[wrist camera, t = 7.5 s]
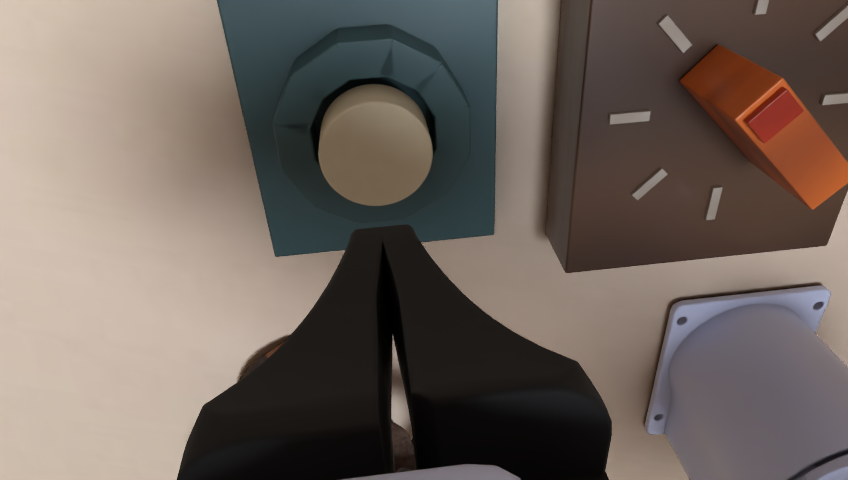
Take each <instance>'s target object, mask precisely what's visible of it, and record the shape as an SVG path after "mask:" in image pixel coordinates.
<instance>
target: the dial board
mask: <svg viewBox="0 0 848 480" xmlns="http://www.w3.org/2000/svg"><path fill="white" fill-rule="evenodd" d="M717 45H721V46H723V47H725V48H727V49H729V50H731V51H733V52H735V53H736V54H738V55H740V56H742V57H744V58H746V59H748V60H750V61H752V62H754V63H756V64H757V65H759V66H761V67H763V68H765V69H767V70H769V71H771V72H773V73H775V74H777V75H779V76H780V77H782V78H784V80H785V81H786V82H787V83H788V85H789V86H790V87H791V89H792V90H793V91H794V93H795V94H796V95H797V97H798V98H799V99H800V101H801V102H802V103H803V104H804V106H805V107H806V108H807V110H808V111H809V112H810V114H811V115H812V116H813V118H814V119H815V120H816V122H817V123H818V124H819V125H820V127H821V128H822V129H823V131H824V132H825V133H826V135H827V136H828V137H829V139H830V140H831V141H832V143H833V144H834V145H835V146H836V148H837V149H838V150H839V152H840V153H841V154H842V156H843V157H844V158H845V160H846V161H847V162H848V0H562V3H561V18H560V32H559V46H558V61H557V75H556V89H555V104H554V118H553V133H552V147H551V161H550V176H549V190H548V204H547V219H546V233H545V234H546V236H547V238H548V240H549V242H550V244H551V246H552V248H553V249H554V251H555V253H556V255H557V257H558V259H559V261H560V263H561V265H562V267H563V269H564V271H565V272H566V273H572V272H582V271H591V270H601V269H610V268H620V267H629V266H639V265H648V264H657V263H667V262H676V261H686V260H695V259H705V258H714V257H724V256H733V255H742V254H752V253H761V252H771V251H780V250H790V249H799V248H809V247H818V246H826V245H827V243H828V241H829V238H830V236H831V233H832V230H833V228H834V225H835V222H836V220H837V217H838V214H839V212H840V209H841V206H842V204H843V201H844V198H845V196H846V193H847V191H848V183H847V184H846V185H845V186H843V187H842V188H841V189H840V190H838V191H837V192H836V193H834V194H833V195H832V196H830V197H829V198H828V199H826V200H825V201H824V202H823V203H821V204H820V205H819V206H817V207H816V208H815V209H813V210H812V209H810V208H809V207H807V206H806V205H805V204H803V203H802V202H801V201H800V200H798V199H797V198H796V197H794V196H793V195H792V194H791V193H789V192H788V191H787V190H785V189H784V188H783V187H782V186H780V185H779V184H778V183H776V182H775V181H774V180H773V179H771V178H770V177H769V176H767V175H766V174H765V173H763V172H762V171H761V170H760V169H758V168H757V167H756V166H754V165H753V164H752V163H751V162H750V161H749V160H748V159H747V158H746V156H745V155H744V154H743V153H742V152H741V151H740V150H739V148H738V147H737V146H736V145H735V144H734V143H733V142H732V141H731V139H730V138H729V137H728V136H727V135H726V134H725V133H724V131H723V130H722V129H721V128H720V127H719V126H718V125H717V124H716V122H715V121H714V120H713V119H712V118H711V117H710V116H709V114H708V113H707V112H706V111H705V110H704V109H703V108H702V107H701V105H700V104H699V103H698V102H697V101H696V100H695V99H694V97H693V96H692V95H691V94H690V93H689V92H688V91H687V90H686V88H685V87H684V86H683V85H682V84H681V83H680V80H681V79H682V78H683V77H684V76H685V75H686V74H687V73H688V72H689V71H690V70H691V69H692V68H693V67H695V66H696V65H697V64H698V63H699V62H700V61H701V60H702V59H703V58H704V57H705V56H706V55H707V54H709V53H710V52H711V51H712V50H713V49H714V48H715V47H716V46H717Z"/></svg>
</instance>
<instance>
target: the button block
mask: <svg viewBox="0 0 848 480" xmlns="http://www.w3.org/2000/svg"><path fill="white" fill-rule="evenodd" d="M217 3H218V7H219V11H220V16H221V20H222V25H223V29H224V33H225V38H226V42H227V47H228V51H229V55H230V60H231V64H232V69H233V73H234V77H235V82H236V86H237V91H238V95H239V99H240V104H241V108H242V113H243V117H244V121H245V126H246V130H247V135H248V139H249V143H250V148H251V152H252V157H253V161H254V165H255V170H256V174H257V179H258V183H259V187H260V192H261V196H262V201H263V205H264V209H265V214H266V218H267V223H268V227H269V231H270V236H271V240H272V245H273V249H274V253H275V256H276V257H279V256H289V255H299V254H309V253H319V252H329V251H339V250H346V248H347V245H348V243H349V240H350V236H351V234H352V232H353V231H354V230H355V229H364V228H374V227H384V226H394V225H404V224H409V225H410V226H411V227H412V228H413V229H414V232H415V234H416V236H417V237H418V239H419V241H420V242H428V241H438V240H447V239H457V238H467V237H477V236H487V235H494V224H495V155H496V86H497V18H498V0H217ZM367 84H381V85H387V86H391V87H393V88H396V89H398V90H400V91H402V92H404V93H405V94H407V95H408V96H409V97H411V98H412V99H413V100H414V101H415V103H416V104H417V105H418V106H419V108H420V109H421V111H422V113H423V115H424V118H425V121H426V124H427V128H428V131H429V135H430V138H431V142H432V148H433V159H432V164H431V168H430V171H429V173H428V175H427V177H426V179H425V180H424V182H423V183H422V184H421V185H420V187H419V188H418V189H417V190H416V191H415V192H414V193H412V194H411V195H409V196H408V197H406V198H405V199H403V200H401V201H398V202H396V203H392V204H389V205H383V206H368V205H362V204H359V203H355V202H353V201H350V200H348V199H346V198H345V197H343V196H341V195H340V194H339V193H338V192H336V191H335V190H334V189H333V188H332V187H331V186H330V184H329V183H328V182H327V180H326V179H325V177H324V175H323V173H322V170H321V168H320V163H319V156H318V152H319V140H320V130H321V124H322V120H323V117H324V115H325V113H326V111H327V109H328V108H329V106H330V105H331V103H332V102H333V101H334V100H335V99H336V98H337V97H339V96H340V95H341V94H342V93H344V92H346V91H347V90H350V89H352V88H354V87H357V86H361V85H367Z"/></svg>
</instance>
